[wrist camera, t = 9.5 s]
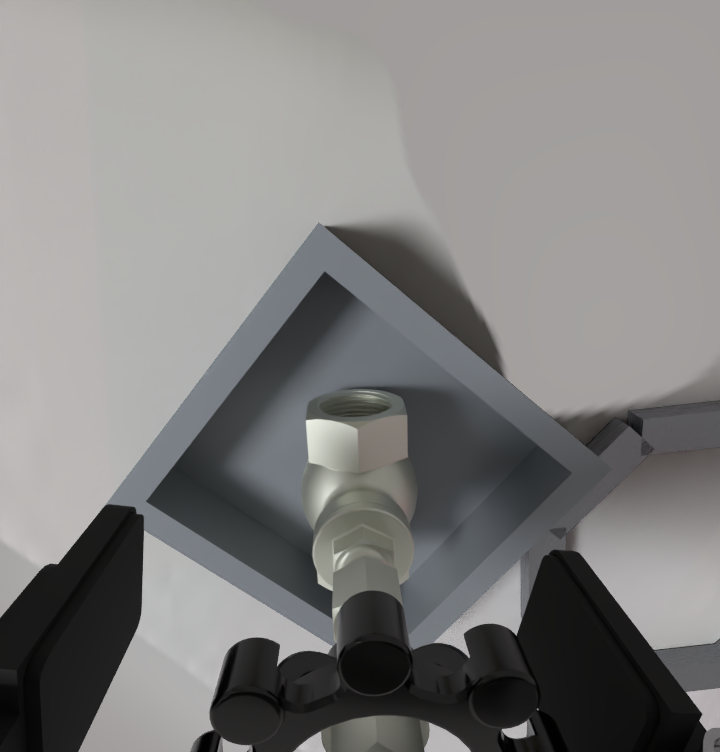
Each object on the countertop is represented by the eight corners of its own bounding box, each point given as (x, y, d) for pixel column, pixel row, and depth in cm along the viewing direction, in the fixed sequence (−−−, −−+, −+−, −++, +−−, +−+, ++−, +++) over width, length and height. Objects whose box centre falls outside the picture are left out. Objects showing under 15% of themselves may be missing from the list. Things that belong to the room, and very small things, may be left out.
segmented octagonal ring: (455, 576, 22) (461, 591, 21) (699, 332, 19) (718, 337, 18) (660, 719, 25) (672, 738, 24) (897, 527, 22) (923, 540, 21)
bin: (145, 460, 20) (104, 506, 16) (323, 225, 17) (318, 222, 14) (384, 615, 22) (391, 682, 19) (566, 430, 20) (612, 468, 16)
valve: (282, 537, 20) (200, 947, 8) (268, 389, 18) (137, 653, 7) (437, 529, 20) (566, 919, 9) (439, 381, 18) (604, 624, 7)
